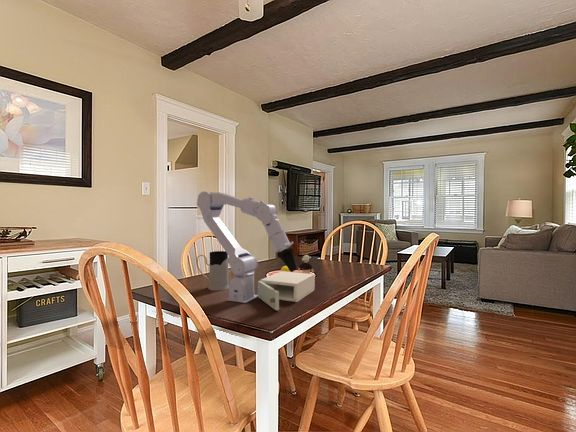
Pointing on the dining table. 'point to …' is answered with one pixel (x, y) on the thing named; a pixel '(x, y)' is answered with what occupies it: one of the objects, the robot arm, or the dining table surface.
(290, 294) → the cabinet
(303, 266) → the grandmother figurine
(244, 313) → the dining table surface
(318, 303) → the dining table surface
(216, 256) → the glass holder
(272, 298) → the door
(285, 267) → the lemon
